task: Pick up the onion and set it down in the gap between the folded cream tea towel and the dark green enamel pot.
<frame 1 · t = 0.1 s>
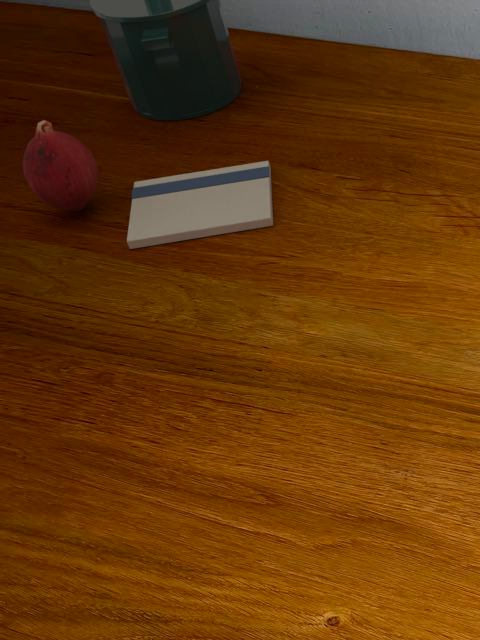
pot: (188, 94, 107), on the table
towel: (203, 207, 91), on the table
onion: (79, 212, 93), on the table
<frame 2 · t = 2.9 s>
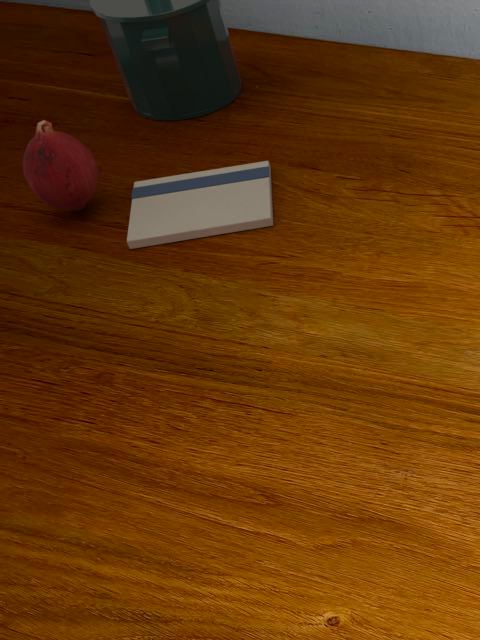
nothing on the table moved.
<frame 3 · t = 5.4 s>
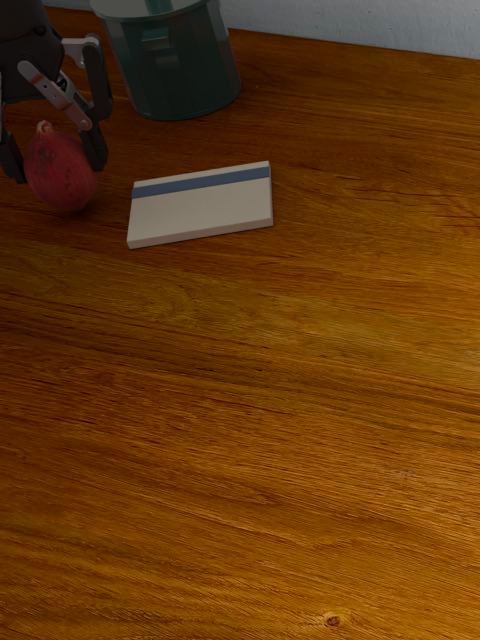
hand: (61, 172, 90), 4 cm above the table, tool pointing down, fingers closed on onion, 6 cm apart
onion: (79, 212, 93), on the table, touching gripper
everything else where it was.
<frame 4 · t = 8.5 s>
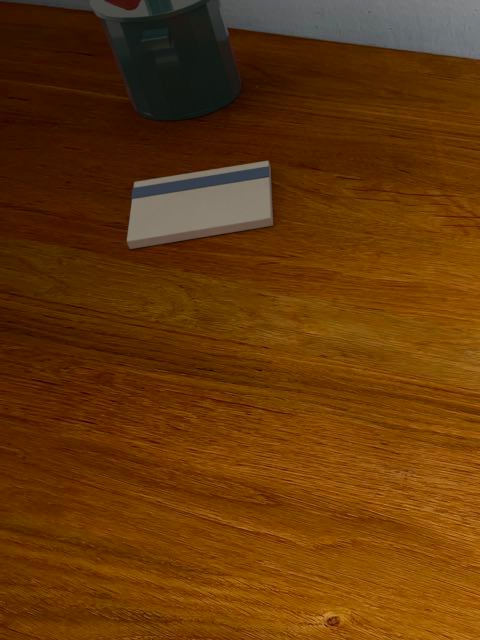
onion: (132, 12, 89), point 13 cm above the table, touching gripper
everything else where it was.
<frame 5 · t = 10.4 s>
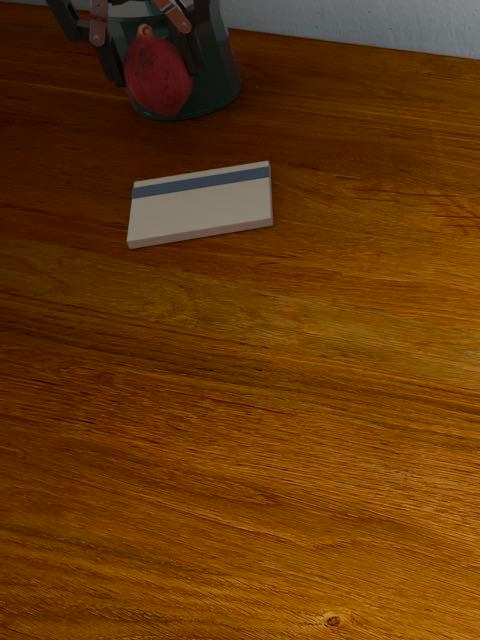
hand: (158, 77, 93), 7 cm above the table, tool pointing down, fingers closed on onion, 6 cm apart
onion: (172, 118, 96), point 3 cm above the table, touching gripper
everything else where it was.
when the fingers open (4 cm above the table, at t = 11.9 s): onion stays where it is, on the table.
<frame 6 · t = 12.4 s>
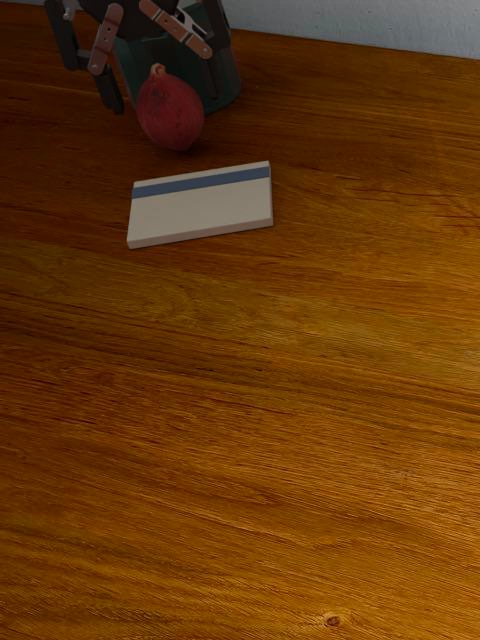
hand: (167, 103, 95), 5 cm above the table, tool pointing down, fingers open, 8 cm apart
onion: (184, 153, 99), on the table
everything else where it was.
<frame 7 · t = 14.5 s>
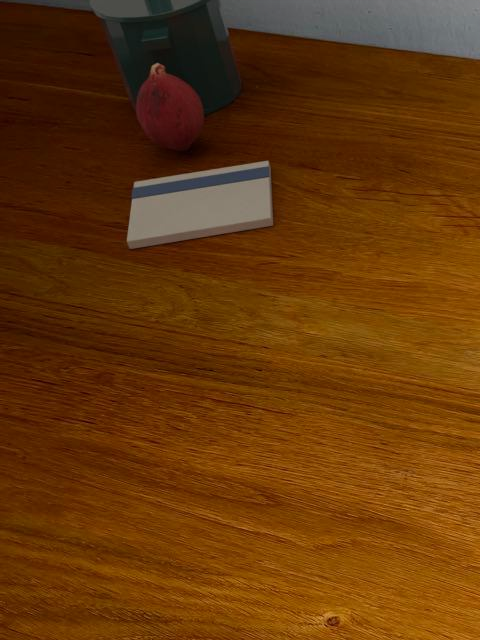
nothing on the table moved.
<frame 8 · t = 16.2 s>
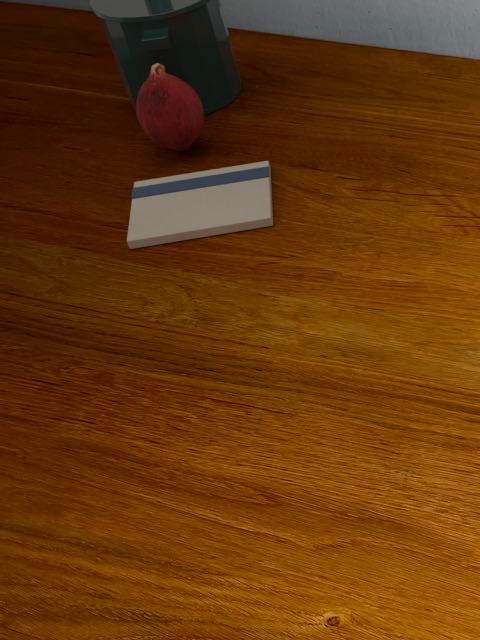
nothing on the table moved.
at the end: onion inside the target area (0.1 cm from its centre), on the table; the gripper is holding nothing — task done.
